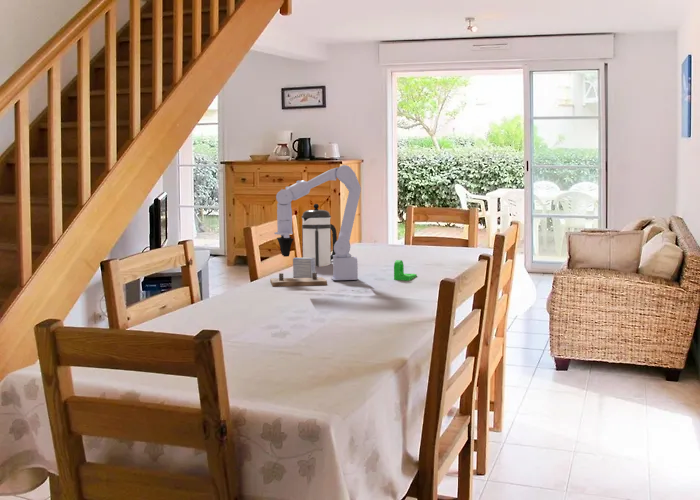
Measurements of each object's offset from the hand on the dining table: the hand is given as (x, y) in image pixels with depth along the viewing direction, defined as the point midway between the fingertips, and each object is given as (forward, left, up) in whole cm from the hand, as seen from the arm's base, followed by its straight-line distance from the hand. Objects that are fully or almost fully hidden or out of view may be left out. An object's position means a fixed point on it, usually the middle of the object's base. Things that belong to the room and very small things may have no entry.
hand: (285, 255), depth 300 cm
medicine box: (-8, -5, -10) cm, 14 cm away
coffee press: (-17, -35, -10) cm, 40 cm away
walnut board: (-4, +11, -10) cm, 15 cm away
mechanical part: (-47, +5, -10) cm, 49 cm away
